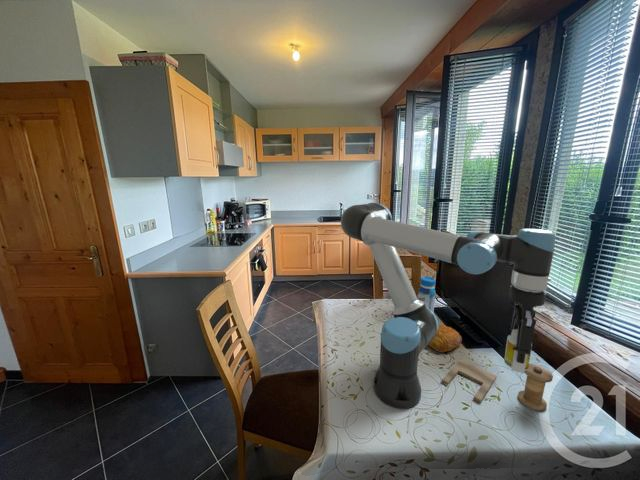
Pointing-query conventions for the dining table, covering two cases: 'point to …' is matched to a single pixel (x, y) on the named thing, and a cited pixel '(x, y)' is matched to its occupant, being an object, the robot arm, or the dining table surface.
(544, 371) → the bobbin
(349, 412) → the dining table surface
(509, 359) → the supplement bottle
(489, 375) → the notched board
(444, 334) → the golden brown rounded loaf
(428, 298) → the beverage bottle
